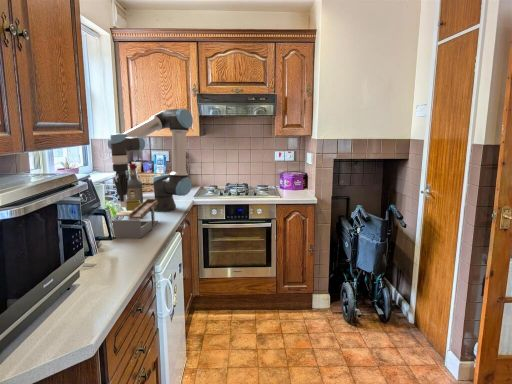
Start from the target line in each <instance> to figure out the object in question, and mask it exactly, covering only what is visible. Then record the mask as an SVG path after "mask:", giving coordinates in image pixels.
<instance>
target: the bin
mask: <svg viewBox="0 0 512 384" xmlns="http://www.w3.org/2000/svg"><path fill="white" fill-rule="evenodd" d="M111 220H112V223H113V228H114V232H115V236H116V238H115V239H143V237H145V236H146V235H147V234H149V233H150V232H151V231H152V230H153V227H152V222H151V221H152V220H148V221H149V222H141V221H142V220H141V219H139V220H136V219H111Z"/></svg>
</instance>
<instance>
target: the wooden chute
mask: <svg viewBox="0 0 512 384" xmlns="http://www.w3.org/2000/svg"><path fill="white" fill-rule="evenodd" d="M157 204H158V202H157V200H156V199H155V198H146V200H143V203H142V204H141V205H139V206H138V207H137V208H136V209H135V210H133V211H126V210H119V211H118V212H117V213H116V214H115V216H116V217H129V216H130V217H129V219H136V218H139V219H144V218H145V217H146V216H147V215H148V214H149V213H151V208H154V209H155V208H156V205H157Z"/></svg>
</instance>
